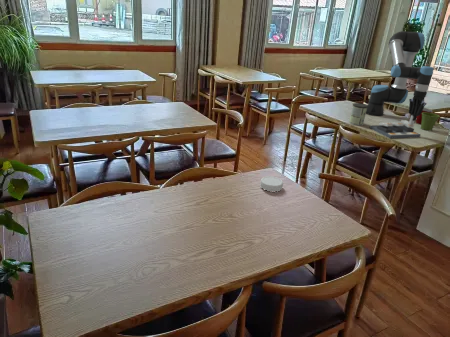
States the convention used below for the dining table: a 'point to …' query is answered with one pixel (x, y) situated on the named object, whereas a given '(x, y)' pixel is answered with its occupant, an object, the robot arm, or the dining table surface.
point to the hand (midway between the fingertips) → (411, 124)
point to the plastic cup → (419, 118)
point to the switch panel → (374, 127)
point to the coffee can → (358, 114)
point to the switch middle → (397, 124)
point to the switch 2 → (406, 123)
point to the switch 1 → (386, 124)
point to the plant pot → (428, 120)
